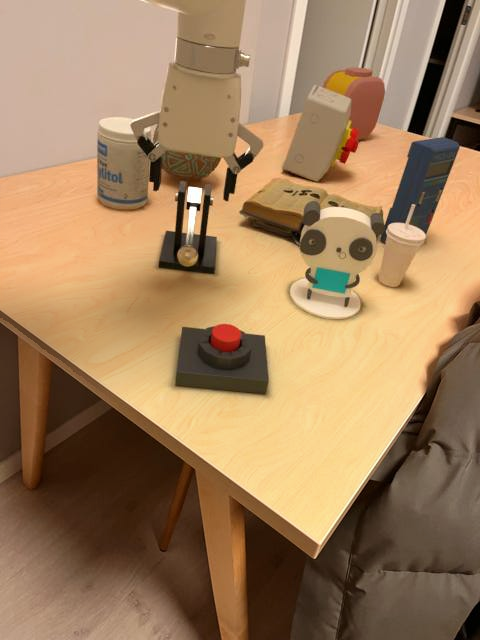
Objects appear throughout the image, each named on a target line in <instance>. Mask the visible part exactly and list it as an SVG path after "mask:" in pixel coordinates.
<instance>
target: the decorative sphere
mask: <svg viewBox="0 0 480 640" xmlns="http://www.w3.org/2000/svg"><path fill="white" fill-rule="evenodd" d="M158 127H159V123H158V124H156V127H155V129H154V131H153V132H154V133H153V137H152V143H153V144H154V145H155V144H156V143H157V142H158ZM161 157H162V158H163V159H162V171H164V173H166V174H167V175H168V176H170V177H171V178H174V179H176V180H178V181H183V182H195V181H201V180H202V179H205V178H207V177H209V175H211V174H212V173H213V172H214V171H215V170H216V168H217V167H218V166H219V164H220V163H221V160H222V158H219V157H211V156H204V155H197V154H191V153H184V152H178V151H172V150H167V151H165V152H164V153H163V154H162V155H161Z"/></svg>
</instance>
